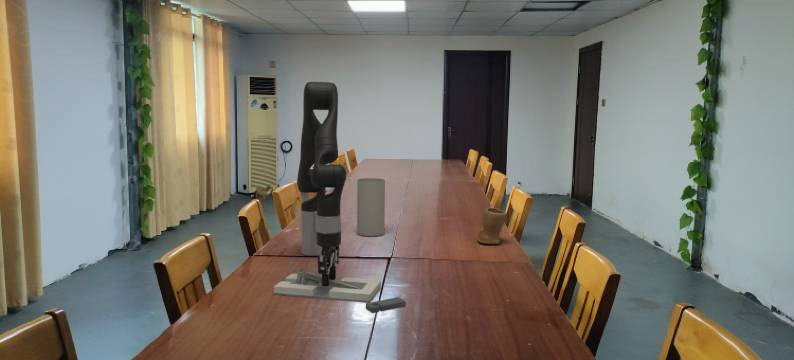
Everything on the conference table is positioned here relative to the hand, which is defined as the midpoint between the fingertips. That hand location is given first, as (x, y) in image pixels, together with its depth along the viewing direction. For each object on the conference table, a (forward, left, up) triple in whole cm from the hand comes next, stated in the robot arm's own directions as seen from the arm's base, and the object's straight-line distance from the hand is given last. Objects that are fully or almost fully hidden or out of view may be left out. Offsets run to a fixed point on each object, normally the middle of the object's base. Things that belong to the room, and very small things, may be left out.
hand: (328, 282), depth 170 cm
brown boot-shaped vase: (-81, +46, -3) cm, 93 cm away
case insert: (0, 0, -3) cm, 3 cm away
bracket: (+10, +20, -3) cm, 23 cm away
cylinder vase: (-81, -8, -3) cm, 82 cm away
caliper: (0, 0, -2) cm, 2 cm away
